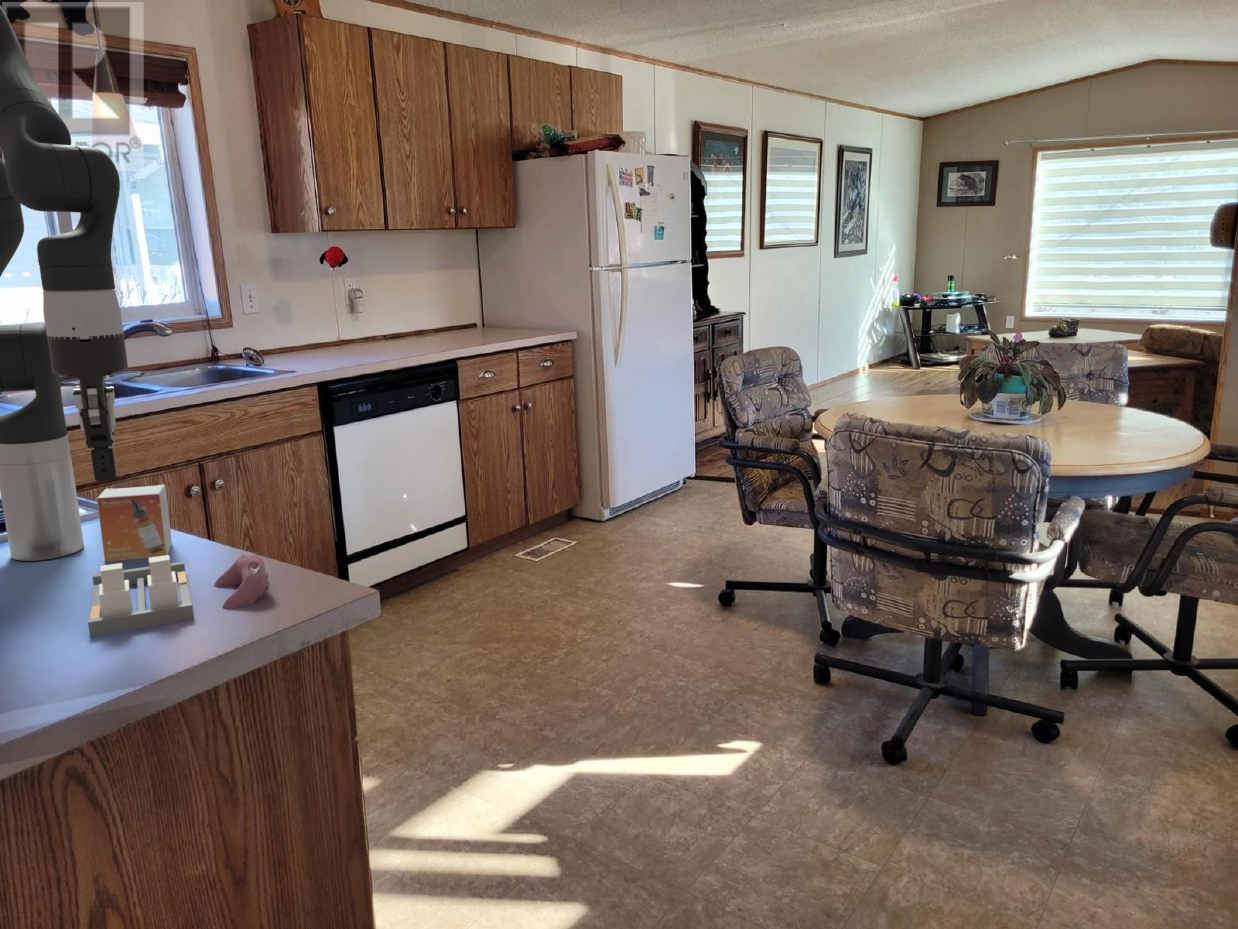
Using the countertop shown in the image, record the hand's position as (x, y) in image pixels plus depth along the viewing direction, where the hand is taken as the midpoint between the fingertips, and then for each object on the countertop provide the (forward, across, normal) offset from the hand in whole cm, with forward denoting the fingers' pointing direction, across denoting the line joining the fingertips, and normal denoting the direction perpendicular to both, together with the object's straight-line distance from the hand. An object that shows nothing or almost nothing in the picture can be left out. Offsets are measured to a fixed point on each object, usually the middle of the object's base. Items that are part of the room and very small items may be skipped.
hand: (106, 479), depth 105 cm
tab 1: (+16, +4, 0) cm, 16 cm away
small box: (+17, -22, +2) cm, 28 cm away
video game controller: (+18, +1, +13) cm, 22 cm away
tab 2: (+16, +3, +4) cm, 17 cm away
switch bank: (+17, -1, +2) cm, 17 cm away
